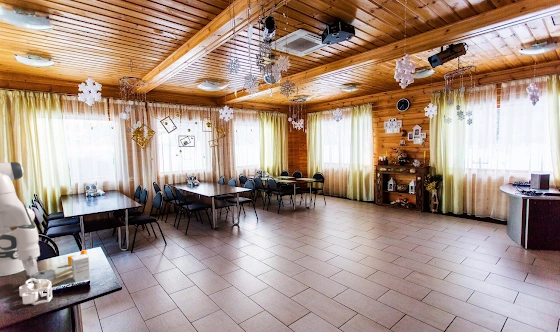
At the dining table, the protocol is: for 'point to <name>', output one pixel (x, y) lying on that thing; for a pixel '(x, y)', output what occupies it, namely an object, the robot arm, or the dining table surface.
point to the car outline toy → (35, 291)
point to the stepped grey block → (29, 277)
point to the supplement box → (80, 267)
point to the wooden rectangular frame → (52, 277)
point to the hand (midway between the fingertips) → (31, 278)
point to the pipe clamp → (73, 256)
